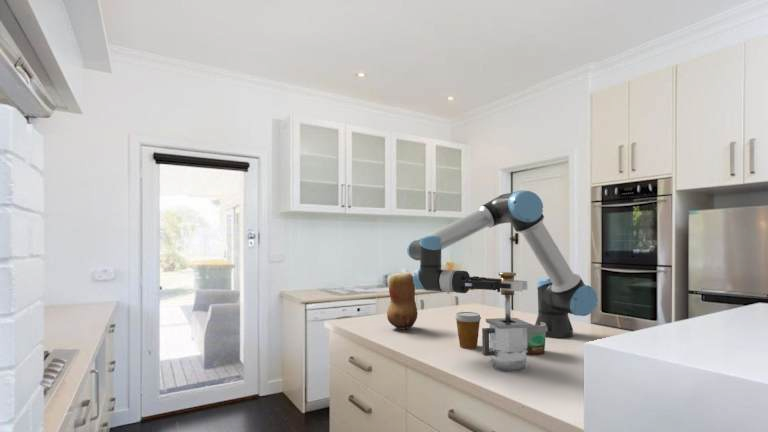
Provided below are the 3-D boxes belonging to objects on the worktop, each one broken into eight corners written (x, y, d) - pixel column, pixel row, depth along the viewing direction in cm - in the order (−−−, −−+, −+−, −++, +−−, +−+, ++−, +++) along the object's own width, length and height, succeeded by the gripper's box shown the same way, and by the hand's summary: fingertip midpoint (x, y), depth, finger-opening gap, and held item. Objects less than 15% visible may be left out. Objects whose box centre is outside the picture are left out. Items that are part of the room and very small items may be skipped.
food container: (530, 358, 140) (529, 328, 140) (516, 353, 145) (516, 324, 145) (556, 353, 145) (555, 324, 146) (542, 349, 151) (541, 321, 151)
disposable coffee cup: (481, 350, 149) (481, 316, 150) (454, 349, 151) (454, 315, 152) (481, 343, 159) (480, 312, 159) (455, 342, 160) (455, 311, 161)
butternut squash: (382, 327, 187) (381, 271, 189) (407, 324, 194) (406, 270, 195) (398, 333, 175) (397, 274, 176) (424, 330, 182) (423, 272, 183)
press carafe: (516, 360, 137) (515, 317, 137) (532, 371, 126) (531, 324, 127) (477, 363, 135) (477, 319, 135) (490, 373, 124) (490, 325, 125)
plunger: (513, 325, 136) (512, 271, 137) (525, 330, 128) (524, 273, 129) (491, 326, 134) (490, 272, 135) (502, 331, 127) (501, 274, 128)
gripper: (466, 289, 149) (533, 295, 136) (444, 295, 136) (515, 301, 122) (466, 268, 150) (532, 271, 136) (443, 272, 136) (515, 276, 122)
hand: (524, 286), depth 129 cm, fingers closed on plunger, 4 cm apart
